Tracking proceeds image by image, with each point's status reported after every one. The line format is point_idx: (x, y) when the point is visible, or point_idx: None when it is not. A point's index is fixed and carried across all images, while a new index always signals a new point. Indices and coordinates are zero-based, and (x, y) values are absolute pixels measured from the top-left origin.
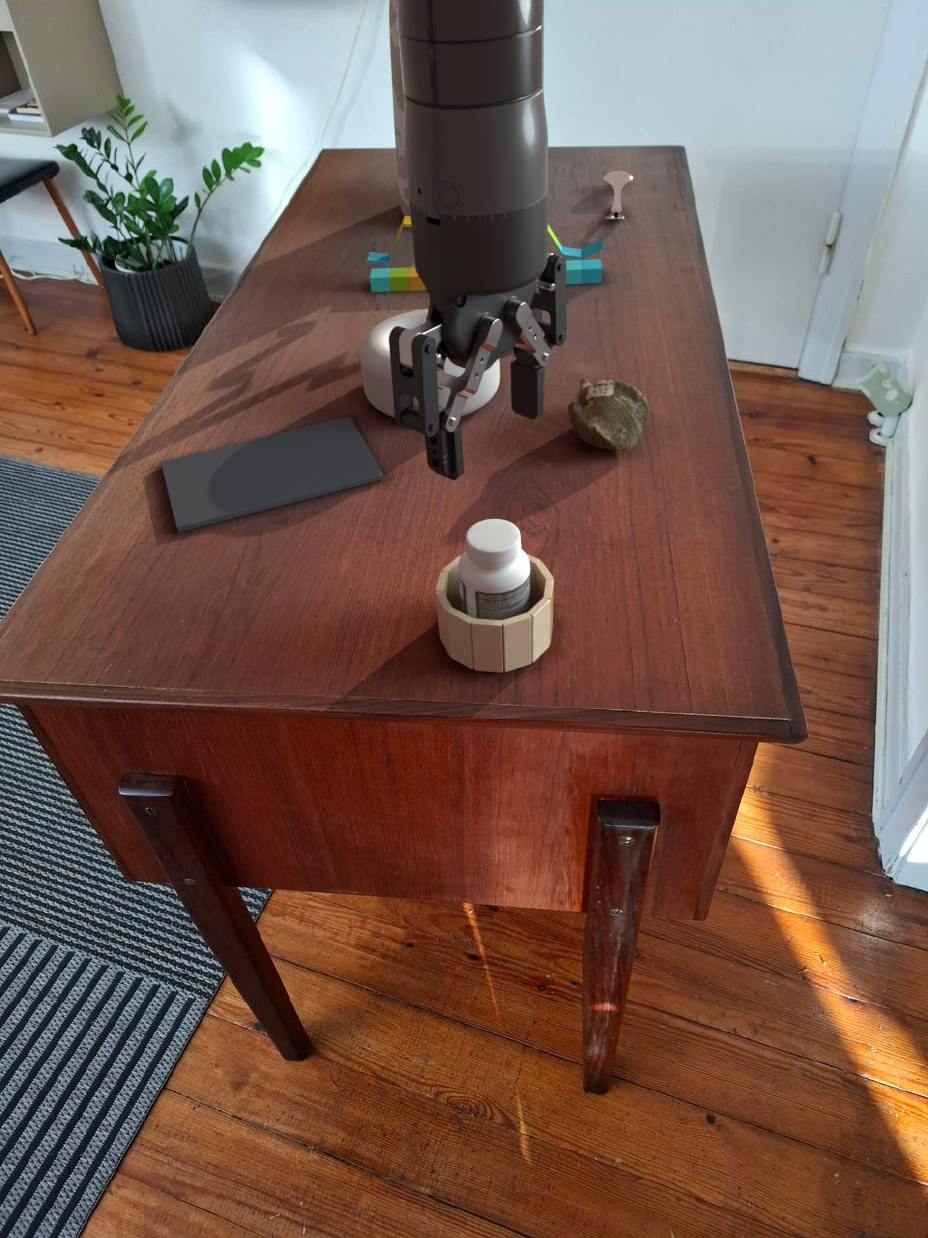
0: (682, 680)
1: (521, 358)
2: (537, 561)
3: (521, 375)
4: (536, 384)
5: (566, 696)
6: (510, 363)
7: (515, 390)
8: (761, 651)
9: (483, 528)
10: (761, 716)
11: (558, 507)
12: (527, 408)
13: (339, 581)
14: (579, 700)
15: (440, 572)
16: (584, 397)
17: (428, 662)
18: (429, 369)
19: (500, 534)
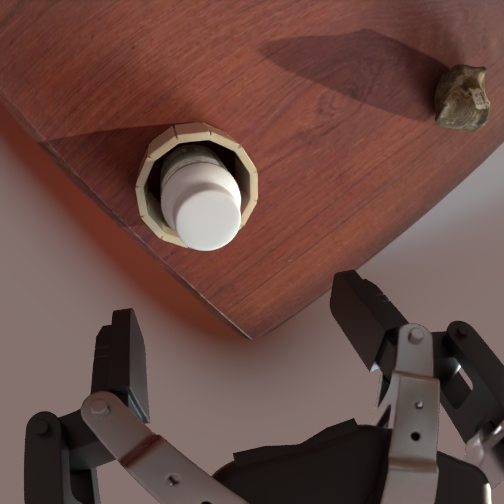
0: (243, 295)
1: (390, 354)
2: (253, 199)
3: (368, 336)
4: (358, 353)
5: (176, 259)
6: (383, 330)
7: (355, 301)
8: (293, 307)
9: (210, 205)
10: (246, 333)
11: (361, 108)
12: (338, 305)
13: (144, 9)
14: (180, 267)
15: (174, 137)
16: (469, 86)
17: (122, 158)
18: None
19: (214, 227)
